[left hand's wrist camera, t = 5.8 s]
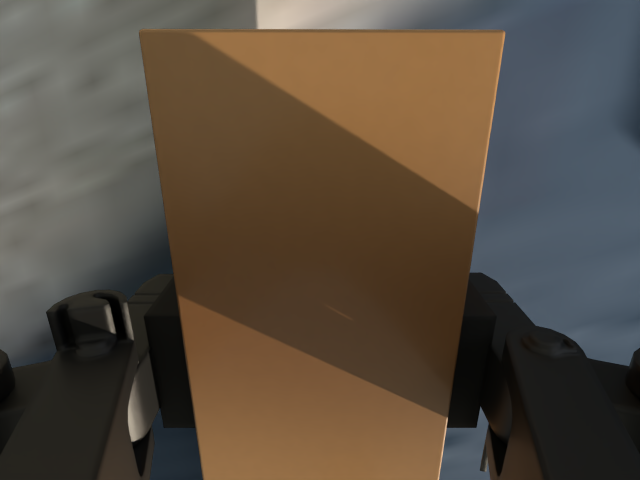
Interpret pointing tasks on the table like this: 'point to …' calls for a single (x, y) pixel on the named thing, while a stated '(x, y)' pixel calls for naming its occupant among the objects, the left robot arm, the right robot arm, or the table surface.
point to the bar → (321, 238)
